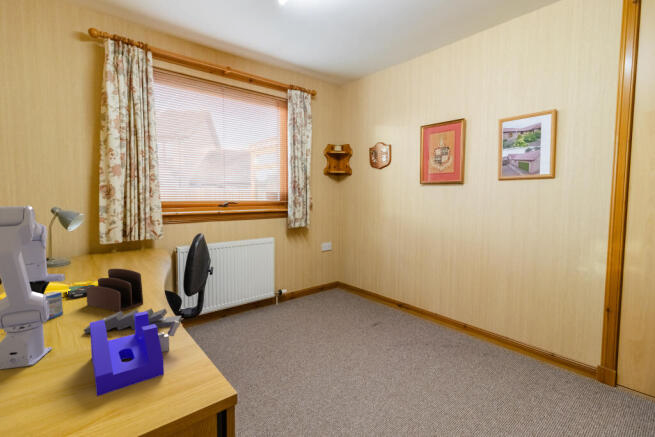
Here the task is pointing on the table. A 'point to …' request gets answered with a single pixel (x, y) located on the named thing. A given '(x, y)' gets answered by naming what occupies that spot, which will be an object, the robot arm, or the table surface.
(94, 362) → the bracket
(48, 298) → the medicine box
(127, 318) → the domino
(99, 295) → the letter holder
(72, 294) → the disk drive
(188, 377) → the table surface
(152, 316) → the domino
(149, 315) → the domino
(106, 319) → the domino
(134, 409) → the table surface
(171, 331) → the lighter
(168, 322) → the end domino
